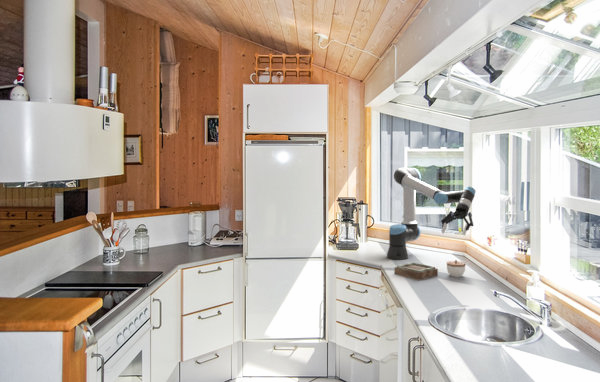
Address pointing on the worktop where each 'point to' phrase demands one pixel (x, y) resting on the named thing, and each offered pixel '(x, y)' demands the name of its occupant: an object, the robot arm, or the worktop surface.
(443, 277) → the worktop surface
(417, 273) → the tray
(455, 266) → the lidded jar
